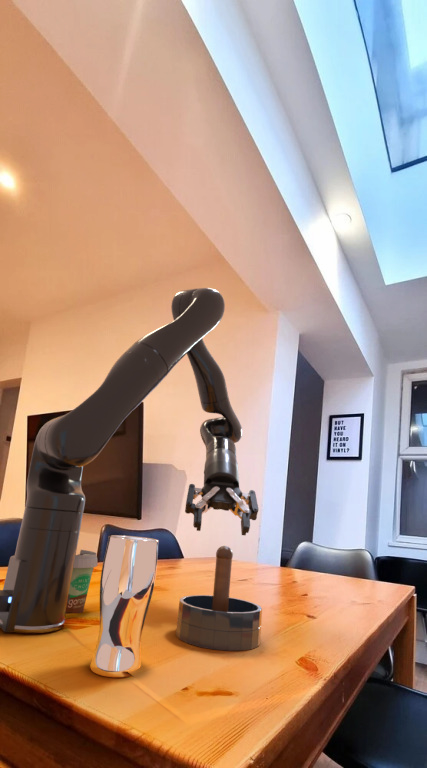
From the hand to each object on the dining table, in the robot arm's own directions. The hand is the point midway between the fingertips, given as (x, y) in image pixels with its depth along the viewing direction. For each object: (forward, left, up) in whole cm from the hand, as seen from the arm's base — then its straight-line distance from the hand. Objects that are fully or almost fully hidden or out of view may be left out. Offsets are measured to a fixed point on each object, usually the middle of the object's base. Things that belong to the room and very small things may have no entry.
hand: (221, 530), depth 79 cm
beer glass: (-24, -11, -17) cm, 31 cm away
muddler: (-4, -6, -16) cm, 18 cm away
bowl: (-4, -6, -16) cm, 18 cm away
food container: (-20, +16, -17) cm, 30 cm away
